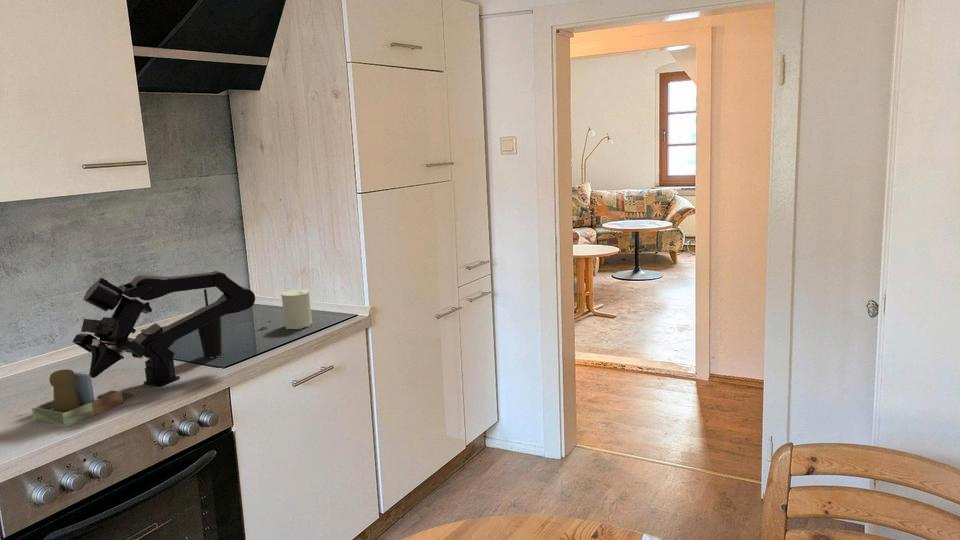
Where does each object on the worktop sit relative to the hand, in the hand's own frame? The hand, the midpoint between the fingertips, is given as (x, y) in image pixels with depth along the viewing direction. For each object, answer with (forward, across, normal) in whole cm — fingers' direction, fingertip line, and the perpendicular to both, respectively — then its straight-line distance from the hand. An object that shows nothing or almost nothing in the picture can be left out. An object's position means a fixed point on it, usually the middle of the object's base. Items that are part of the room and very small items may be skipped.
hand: (91, 377), depth 168 cm
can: (-46, +5, +57) cm, 73 cm away
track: (+8, 0, +2) cm, 8 cm away
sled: (+10, 0, 0) cm, 10 cm away
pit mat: (+1, 0, +9) cm, 9 cm away
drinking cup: (-22, 0, +33) cm, 39 cm away
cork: (+10, 0, 0) cm, 10 cm away
